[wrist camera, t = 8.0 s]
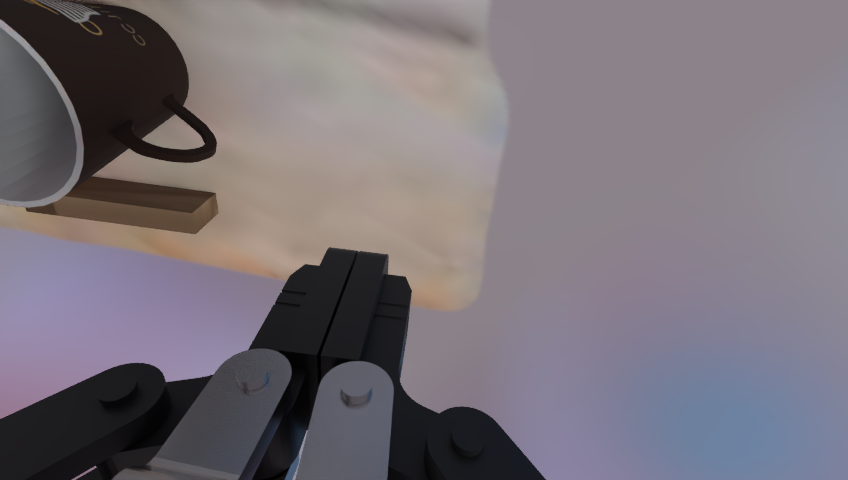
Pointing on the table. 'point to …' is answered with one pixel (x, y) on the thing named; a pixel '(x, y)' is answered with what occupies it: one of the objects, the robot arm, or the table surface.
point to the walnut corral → (136, 205)
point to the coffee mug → (83, 95)
